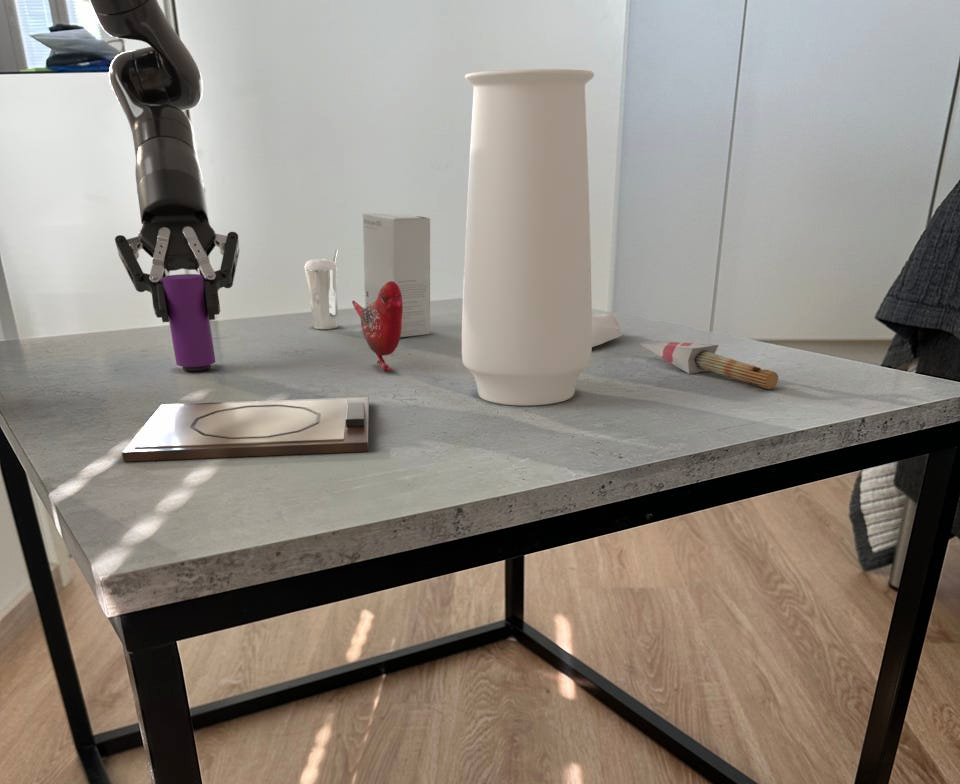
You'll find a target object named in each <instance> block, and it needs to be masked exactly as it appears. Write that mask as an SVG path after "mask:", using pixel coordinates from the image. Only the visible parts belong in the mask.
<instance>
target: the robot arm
mask: <svg viewBox="0 0 960 784" xmlns="http://www.w3.org/2000/svg"><path fill="white" fill-rule="evenodd" d="M88 1H89V2H90V6H91V8H92V10H93V12H94V14H95V17H96V19H97V21H98V24H99V25H100V27H101V28H102V30H103V31H104V32H105V33H106V34H107V35H109V36H110V37H111V38H115V39H120V40H135V41H140V42H143V43H146V44H147V45H149V46H147V47H144V48H138V49H134V50H129V51H128V50H127V51H125V52H121V53H120V54H117V55H116V56H115V57H114V59H113V60H112V61H111V63H110V66H109V71H108V77H109V84H110V86H111V89H112V91H113V94H114V96H115V98H116V100H117V101H118V104H119V105H120V107H121V108H122V112H123V113H124V115H125V116H126V119H127V122H128V124H129V127H130V131H131V134H132V135H131V136H132V141H133V147H134V155H135V156H134V157H135V171H134V172H135V182H136V183H135V184H136V193H137V198H138V206H139V215H140V223H141V227H140V229H139V231H138V235H137V236H134V237H130V238H126V237H125V236H124V235H121V234H119V235H116V236H115V237H114V242H115V247H116V249H117V253H118V257H119V259H120V260H121V263H122V265H123V267H124V269H125V271H126V272H127V275H128V277H129V279H130V281H131V283H132V285H133V287H134V289H135V290H136V292H137V293H144V292H149V293H150V294H151V299H152V307H153V311H154V315H155V316H156V318H157V319H159V318H161V321H162V323H169V317H168V310H167V304H166V298H165V292H164V286H163V282H162V277H164V276H169V275H171V272H173V271H178V270H188V271H194V272H195V274H199V275H203V280H204V289H205V296H206V303H207V310H208V316H209V321H213V320H214V321H215V320H216V316H215V315H220V313H221V306H220V297H219V290H220V289H222V288H224V289H230V288H232V287H233V285H234V280H235V276H236V270H237V266H238V261H239V257H240V239H239V234H238V233H237V232H236V231H229V232H228V233H227V235H224V234H219V233H216V231H215V230H214V228H213V227H212V226H211V224H210V217H209V216H210V215H209V209H208V204H207V203H208V202H207V197H206V188H205V184H204V176H203V172H202V169H201V166H200V162H199V158H198V151H197V145H196V138H195V131H194V128H193V125H192V122H191V120H190V118H189V117H188V116H187V114H186V113H185V111H187V110H191V109H193V108H194V109H195V108H196V107H197V106H198V105H199V104H200V102H201V100H202V98H203V94H204V93H203V92H204V82H203V77H202V74H201V70H200V68H199V65H198V64H197V62H196V60H195V59H194V57H193V56H192V54H191V52H190V50H189V49H188V47H187V46H186V45H185V43H184V42H183V40H182V39H181V38H180V36H179V35H178V34H177V32H176V31H175V29H174V27H173V26H172V24H171V23H170V21H169V20H168V17H166V15H165V13H164V11H163V9H162V7H161V5H160V4H159V2H158V0H88ZM216 247H218V248H219V253H220V254H221V255H222V258H221V264H220V268H219V269H218V270H215V271H214V269H213V267H212V265H211V263H210V260H209V258H208V257H209V256H210V255H211V254H212V251H213V250H214V249H215V248H216ZM140 250H143V251H144V252H145V253H146V254H147V255H148V256H149V257H150V258H151V259H152V263H151V264H152V265H151V269H150V272H149V273H145V272H143V269H142V267H141V266H140V263H139V261H138V259H139V257H140V253H139V252H140Z"/></svg>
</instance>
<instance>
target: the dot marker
mask: <svg viewBox="0 0 960 784" xmlns="http://www.w3.org/2000/svg"><path fill="white" fill-rule="evenodd" d="M162 282H163V286H164V292H165V298H166V304H167V310H168V317H169V322H168V323H169V329H170V334H171V335H170V336H171V340H172V341H171V342H172V346H173V347H172V348H173V351H174V357H175V358H174V360H175V363H176V366H179V367H182V368H181V369H182V370H183V371H185V372H200V371H206V370H209V369H211V368H212V365H213V364H215V363H216V356H215V355H216V354H215V349H214V341H213V333H212V327H211V322H210V321H211V320H209V316H208V310H207V303H206V296H205V289H204V280H203V275H199V274H197V273H184V274H183V273H182V274H179V273H178V274H169V276H164V277H162Z"/></svg>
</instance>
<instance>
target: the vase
mask: <svg viewBox="0 0 960 784" xmlns="http://www.w3.org/2000/svg"><path fill="white" fill-rule="evenodd" d="M594 77H595V73H594V71H592V70H585V69H584V70H583V69H566V68H565V69H563V68H560V69H559V68H544V69H543V68H537V69H536V68H533V69H532V68H531V69H503V70H487V71H486V70H485V71H484V70H483V71H475V72H470V73H466V74H465V75H464V80H465V81H466V82H467V83H468V84H470V85H471V86H472V88H473V90H472V91H473V93H472V109H471V110H472V111H471V125H470V126H471V127H470V143H469V144H470V145H469V160H468V178H467V196H466V197H467V199H466V216H465V217H466V218H465V236H464V237H465V239H464V262H463V283H462V284H463V286H462V313H461V314H462V316H461V361H462V364H463V366H464V367H465V368H466V369H468V370H469V372H470V373H471V374H472V376H473V378H474V380H475V384H476V390H477V395H478V396H479V397H480V398H481V399H482V400H485V401H486V402H490V403H493V404H499V405H506V406H522V407H523V406H525V407H528V406H530V407H531V406H545V405H553V404H557V403H561V402H562V403H563V402H565V401H567V400H570V399H572V397H573V396H574V395H575V392H576V387H577V383H578V380H579V377H580V375H581V374H582V372H583V371H584V370H585V369H586V368H587V367H588V366H590V364H591V362H592V351H593V350H592V349H593V347H592V311H593V306H592V305H593V302H592V299H593V298H592V258H591V257H592V256H591V253H592V252H591V251H592V250H591V219H590V216H591V215H590V191H589V190H590V188H589V159H588V156H589V155H588V135H587V133H588V132H587V110H586V109H587V107H586V106H587V105H586V84H587V83H589V82H590V81H591V80H593V78H594Z"/></svg>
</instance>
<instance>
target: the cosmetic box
mask: <svg viewBox="0 0 960 784" xmlns="http://www.w3.org/2000/svg"><path fill="white" fill-rule="evenodd" d="M362 235H363V240H362V242H363V271H364V274H363V276H364V278H363V279H364V281H363V282H364V308H365V307H366V306H368V305H369V304H370V303H373V302H375V301H376V300H377V297H378V294H379V292H380V289H381V288H382V287H383V286H384V284H386V283H387V282H390V281H393V282H395V283H396V284H397V285H398V287H399V289H400V291H401V295H402V306H403V312H402V329H401V336H400V338H407V337H417V336H425V335H430V334H431V218H430V217H426V216H422V215H416V214H412V213H403V212H363V213H362Z"/></svg>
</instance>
